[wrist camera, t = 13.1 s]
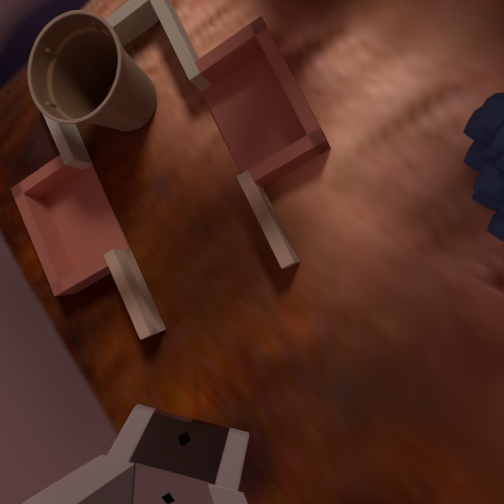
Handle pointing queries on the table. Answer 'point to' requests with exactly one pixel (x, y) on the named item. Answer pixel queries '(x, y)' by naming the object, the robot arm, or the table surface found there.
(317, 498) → the table surface
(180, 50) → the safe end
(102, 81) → the flower pot
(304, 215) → the table surface
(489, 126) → the grapes
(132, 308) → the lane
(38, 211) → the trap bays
